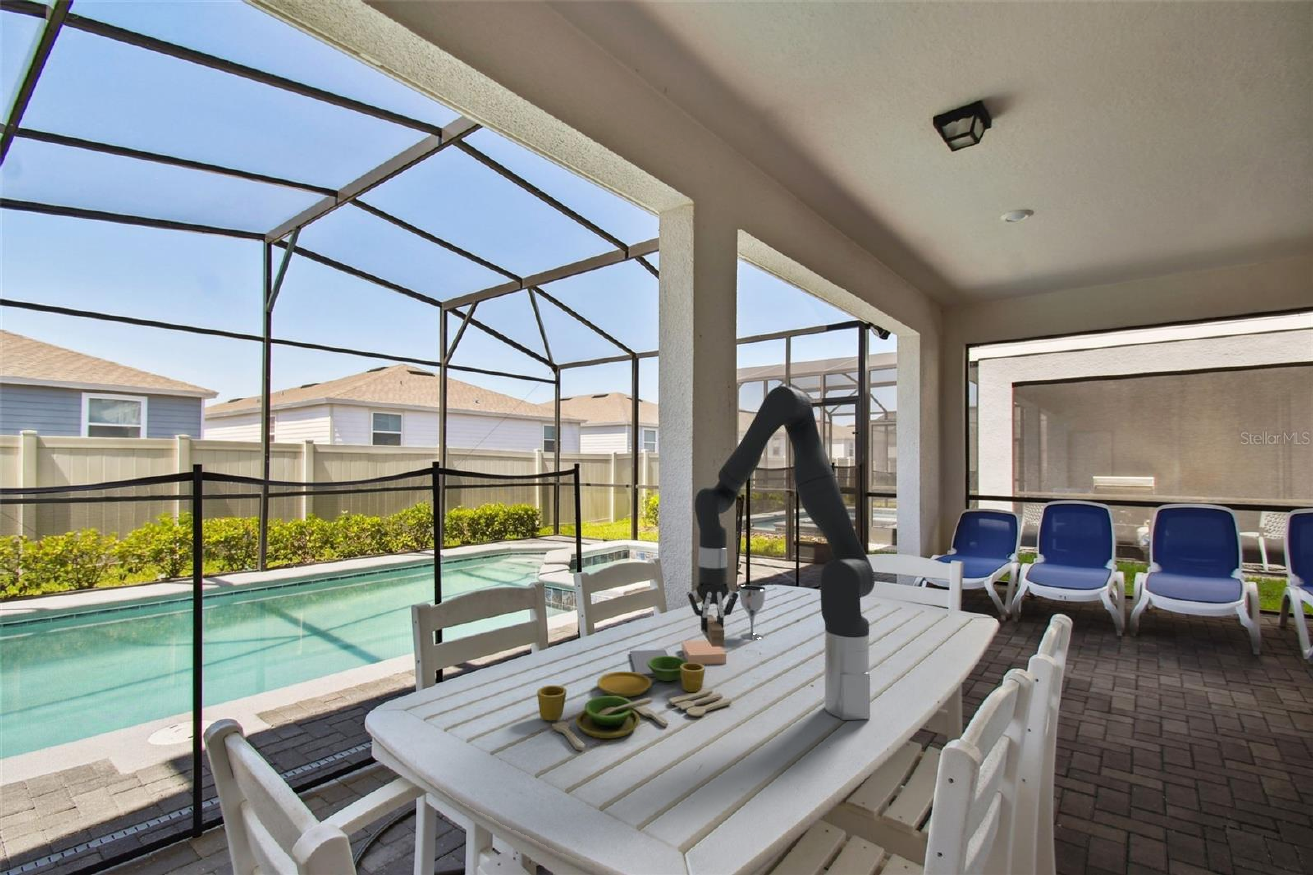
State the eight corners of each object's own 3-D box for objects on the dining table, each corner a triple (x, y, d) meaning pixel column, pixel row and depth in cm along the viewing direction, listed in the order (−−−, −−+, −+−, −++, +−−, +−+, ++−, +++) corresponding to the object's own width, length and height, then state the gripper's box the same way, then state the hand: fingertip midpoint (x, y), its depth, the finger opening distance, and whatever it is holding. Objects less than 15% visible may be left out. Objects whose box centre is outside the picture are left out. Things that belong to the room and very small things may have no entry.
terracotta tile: (726, 654, 158) (716, 640, 170) (689, 655, 156) (681, 641, 168) (726, 665, 158) (715, 650, 169) (689, 666, 156) (681, 652, 168)
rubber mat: (675, 676, 148) (675, 672, 148) (636, 677, 147) (636, 674, 147) (665, 652, 166) (665, 649, 166) (630, 653, 165) (630, 650, 165)
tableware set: (572, 756, 107) (573, 721, 107) (517, 700, 130) (517, 672, 130) (741, 704, 131) (741, 675, 131) (668, 664, 154) (669, 640, 154)
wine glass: (766, 640, 178) (767, 590, 179) (740, 640, 178) (741, 590, 179) (762, 632, 186) (763, 585, 187) (737, 632, 186) (737, 584, 187)
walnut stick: (724, 646, 146) (724, 630, 146) (712, 646, 145) (712, 630, 146) (711, 629, 160) (711, 614, 160) (700, 629, 159) (700, 614, 159)
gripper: (688, 567, 148) (688, 636, 148) (743, 566, 150) (742, 635, 150) (683, 562, 156) (682, 627, 155) (735, 561, 158) (734, 626, 157)
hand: (712, 631), depth 152 cm, fingers closed on walnut stick, 3 cm apart
